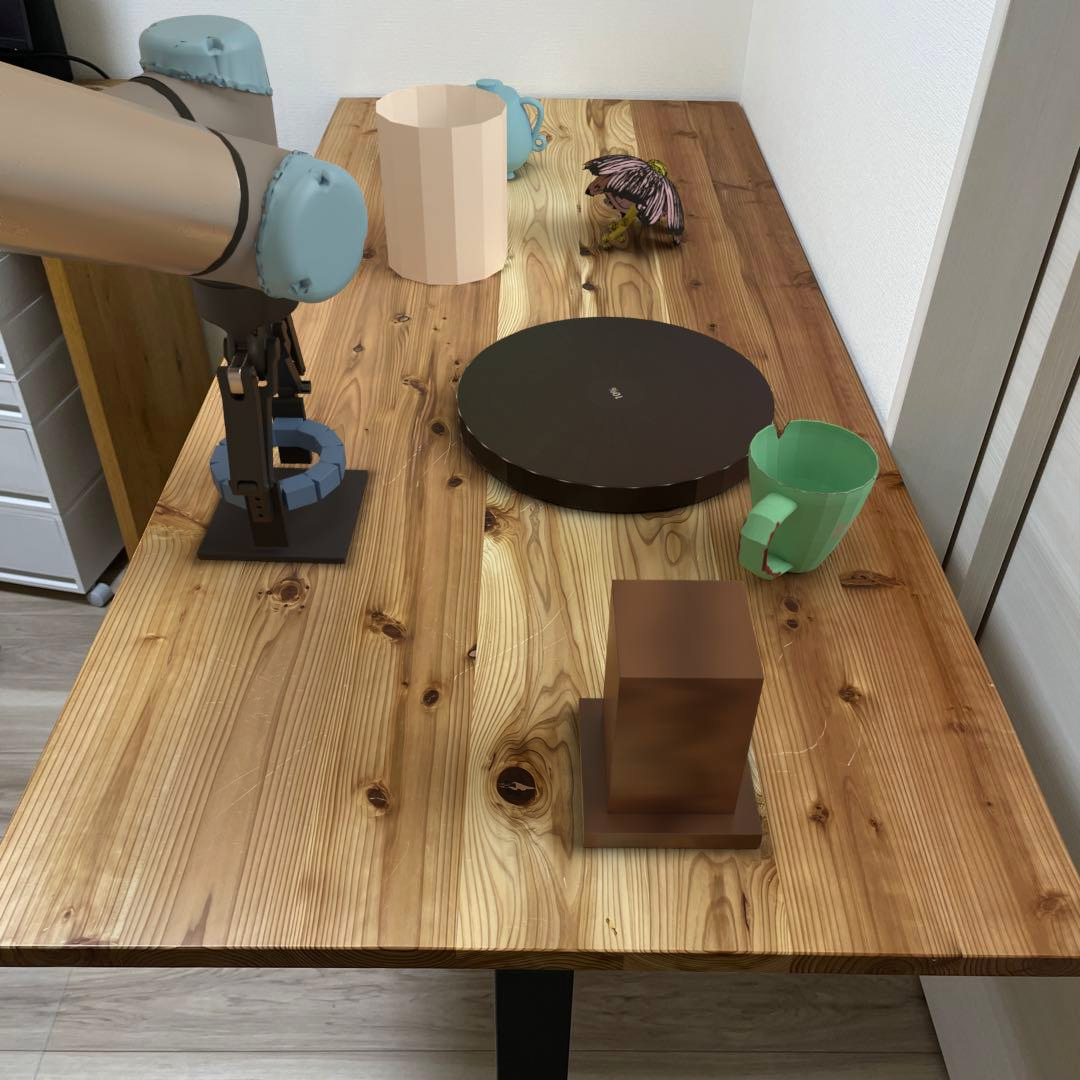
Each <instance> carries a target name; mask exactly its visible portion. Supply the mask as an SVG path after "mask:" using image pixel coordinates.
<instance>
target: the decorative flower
mask: <svg viewBox="0 0 1080 1080" xmlns="http://www.w3.org/2000/svg"><path fill="white" fill-rule="evenodd" d="M582 165H583V166H584V167H583V169H582V171H585V170H588V171H589V173H591V176H593V177H595V179H593V180H592V181H591V182H590V183H589V184H588V186H587V187H586V189H585V190H584V195H586V196H589V197H593V198H594V197H595V196H597V195H602V194H603V195H604V196H605V197H606V199H608V200H609V202H608V204H610V205H612V208H611V209H612V210H617V211H618V212H619V214H620V215H621V219H620V220H619V222H618V224H617V223H616V222H615V221H609V222H608V223H607V229H608V230H609V231H611V233H610V234H609V233H604V234H602V236H601V241H602V243H601V246H602V248H603V249H604V250H609V249H611V247H612V244H611V241H612V240H614V239H616V238H617V239H616V241H617V243H618V244H625V243H626V241H627V237H626V236H625V235H624V234H621V233H623V232H624V231H625V230H626V229H627V228H628V227H629V226H630V225H631V223H632V222H633V221H634V220H635V218H637V220H638V221H639V222H640V224H641V225H642V226H643V228H644V229H649V228H652V227H654V225H656V224H657V223H658V222H660V221H661V219H662V218H665V217H666V227H667V235H668V236H669V235H672V244H673V248H675V247H678V246H680V245H681V241H682V237H683V234H684V233H685V232H684V231H685V213H684V208H683V204H682V200H681V197H680V195H679V192H678V190H677V188H676V186H675V185H674V183H673V182H672V181H671V179H669V178H668V168H667V165H666V164H665V163H663V162H662V161H661V160H659V159H650V160H648V161H645V160H644V159H642V158H639V157H637V156H634V155H629V154H620V153H619V154H618V153H616V154H609V155H603V156H598V157H595V158H593V159H590V160H587V161H585V163H583V164H582Z"/></svg>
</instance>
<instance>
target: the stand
mask: <svg viewBox="0 0 1080 1080" xmlns="http://www.w3.org/2000/svg"><path fill="white" fill-rule="evenodd" d="M759 651H760V650H759V648H758V641H757V636H756V633H755V629H754V624H753V619H752V614H751V611H750V605H749V601H748V596H747V591H746V586H745V582H744V580H739V579H738V580H733V579H732V580H731V579H729V580H725V579H724V580H723V579H722V580H721V579H622V578H621V579H618V578H617V579H611V585H610V599H609V611H608V625H607V638H606V651H605V652H606V653H605V664H604V665H605V667H604V678H603V679H604V680H603V691H602V692H603V693H602V697H579V698H578V714H577V717H578V736H579V737H578V739H579V741H578V742H579V762H580V763H579V767H580V768H579V769H580V794H581V795H580V796H581V797H580V798H581V819H582V820H581V821H582V823H581V824H582V847H583V848H626V849H627V848H633V849H634V848H635V849H636V848H637V849H638V848H639V849H640V848H641V849H643V848H645V849H651V848H652V849H653V848H655V849H657V848H658V849H760V847H761V842H762V839H763V835H764V834H763V827H762V823H761V819H760V813H759V808H758V807H759V806H758V802H757V796H756V790H755V786H754V781H753V775H752V769H751V764H750V758H749V750H750V746H751V741H752V738H753V732H754V728H755V723H756V718H757V713H758V710H759V705H760V700H761V695H762V690H763V687H764V682H765V675H764V671H763V670H764V669H763V666H762V661H761V656H760V652H759Z"/></svg>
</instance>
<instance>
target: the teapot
mask: <svg viewBox="0 0 1080 1080" xmlns="http://www.w3.org/2000/svg"><path fill="white" fill-rule="evenodd" d="M466 86H470V87H476V88H480V89H483V90H486V91H489V92H492V93H495V94H497V95H498V96H499V97H500V98H501V99H502V100H503V101H504V102H505V103H506V104H507V180H511V179H514V178H515V174H514V171H516V170H518V169H520V168H521V167H523V165H524V164H525V163H526V162H527V160H528V159H529V157H530V155H531V154H532V152H535V153H538V152H539V153H541V152H543V151H544V150H545V149H547V144H548V141H547V139H546V137H545V136H544V135H543V134H540V131H541V128H542V125H543V121H544V117H545V108H544V106H543V104H542V103H541V102H540V101H539V100H538V99H537V98H535V97H532V96H522V97H520V95H519V93H518V91H517V90H516V89H515V88H514V87H512V86H510V85H505V84H504V83H503V81H502V80H501V79H500V80H499V79H494V78H479V79H478V80H476V81H475V83H473V84H468V85H466ZM525 105H530V106H533V107H534V108H536V111H537V117H536V121H535V125H534V128H532V123H531V121H530V117H529V115H528V112H527V109H526V107H525ZM537 141H540V143H541V144H537Z"/></svg>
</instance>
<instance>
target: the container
mask: <svg viewBox="0 0 1080 1080" xmlns="http://www.w3.org/2000/svg"><path fill="white" fill-rule="evenodd" d="M375 116H376V118H375V119H376V130H377V144H378V155H379V167H380V177H381V189H382V190H381V191H382V203H383V210H384V211H383V215H384V224H385V236H386V248H387V250H386V251H387V260H388V261H387V262H388V267H389V268H390V269H392V270H393V271H394V272H395V273H396V274H398V276H400V277H401V278H403V279H406V280H410V281H414V282H417V283H421V284H424V285H428V286H429V285H433V286H438V285H439V286H440V285H441V286H459V285H465V284H470V283H474V282H477V281H478V282H479V281H484V280H486V279H488V278H490V277H492V276H493V275H494V274H496V273H498V272H500V271H501V270H503V269H504V267H505V264H506V262H507V258H508V253H509V252H508V251H509V250H508V247H509V246H508V179H507V104H506V103H505V102H504V101H503V100H502V99H501V98H500V97H499V96H498V95H497V94H495V93H492V92H489V91H486V90H483V89H480V88H476V87H470V86H467V85H458V84H448V83H447V84H446V83H443V84H442V83H439V84H425V85H414V86H410V87H405V88H402V89H397V90H393V91H390V92H388V93H387V94H385V95H384V96H382V97H381V98H379V99H378V100H376V101H375Z"/></svg>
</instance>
